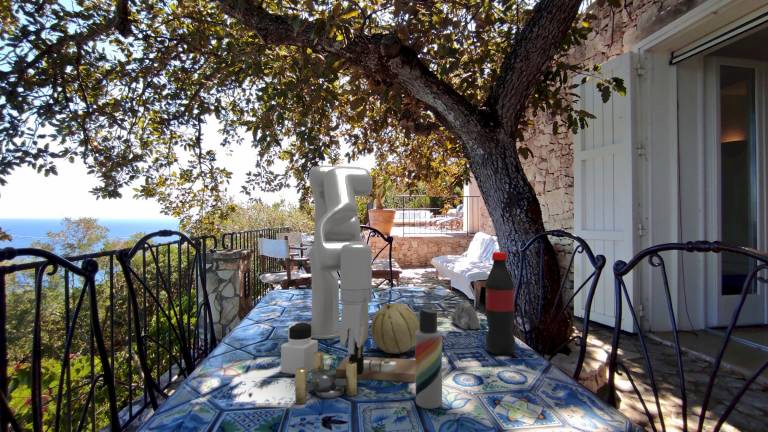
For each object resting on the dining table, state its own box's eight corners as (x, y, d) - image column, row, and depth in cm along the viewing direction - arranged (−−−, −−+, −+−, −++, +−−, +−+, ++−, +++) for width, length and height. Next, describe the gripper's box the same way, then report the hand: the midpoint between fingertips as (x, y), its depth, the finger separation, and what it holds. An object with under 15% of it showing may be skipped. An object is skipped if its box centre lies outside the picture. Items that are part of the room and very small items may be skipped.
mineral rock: (452, 321, 156) (452, 295, 156) (480, 322, 153) (479, 296, 153) (449, 329, 143) (449, 301, 144) (479, 331, 141) (479, 303, 141)
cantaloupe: (426, 348, 121) (426, 299, 121) (409, 363, 108) (409, 309, 108) (383, 342, 127) (383, 296, 127) (362, 356, 114) (362, 304, 114)
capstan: (293, 403, 84) (293, 371, 84) (315, 378, 97) (315, 350, 97) (348, 408, 81) (348, 374, 82) (363, 382, 95) (363, 353, 95)
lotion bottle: (413, 397, 86) (413, 306, 87) (438, 396, 87) (438, 306, 87) (418, 410, 81) (417, 312, 81) (445, 408, 81) (444, 312, 82)
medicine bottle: (318, 366, 106) (318, 322, 106) (304, 376, 99) (304, 328, 99) (295, 363, 108) (295, 320, 109) (280, 372, 101) (280, 326, 102)
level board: (335, 377, 98) (335, 358, 98) (346, 363, 108) (346, 346, 108) (415, 382, 95) (414, 362, 95) (418, 367, 105) (418, 349, 105)
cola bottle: (511, 348, 121) (510, 251, 121) (518, 357, 112) (517, 252, 113) (483, 347, 121) (482, 250, 122) (488, 356, 113) (487, 252, 114)
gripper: (349, 289, 101) (349, 361, 101) (331, 301, 86) (331, 384, 86) (377, 290, 100) (377, 363, 99) (364, 302, 85) (364, 387, 85)
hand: (356, 372), depth 93 cm, fingers closed
